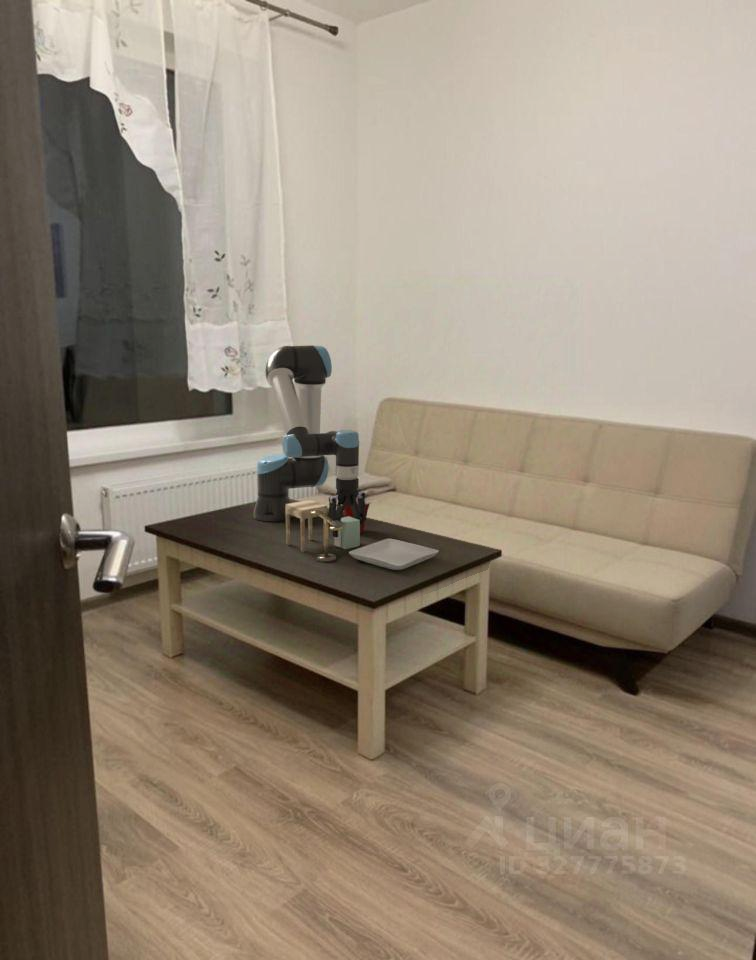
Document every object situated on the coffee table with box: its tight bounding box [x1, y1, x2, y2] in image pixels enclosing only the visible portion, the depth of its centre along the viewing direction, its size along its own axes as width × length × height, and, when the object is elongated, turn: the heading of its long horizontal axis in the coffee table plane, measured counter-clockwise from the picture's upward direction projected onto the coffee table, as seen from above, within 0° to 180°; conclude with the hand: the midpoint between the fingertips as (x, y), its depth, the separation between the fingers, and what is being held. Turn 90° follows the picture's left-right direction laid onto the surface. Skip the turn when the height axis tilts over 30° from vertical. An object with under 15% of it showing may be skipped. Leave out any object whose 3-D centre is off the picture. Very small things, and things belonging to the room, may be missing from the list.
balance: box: [311, 510, 343, 563], centre depth 237 cm, size 15×6×15 cm, turn 39°
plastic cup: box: [343, 497, 372, 535], centre depth 268 cm, size 11×11×12 cm
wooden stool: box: [285, 499, 328, 553], centre depth 251 cm, size 10×10×14 cm
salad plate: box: [348, 538, 440, 571], centre depth 239 cm, size 21×21×3 cm
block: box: [340, 516, 361, 550], centre depth 253 cm, size 6×6×9 cm
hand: (347, 543), depth 253 cm, fingers open, 7 cm apart
